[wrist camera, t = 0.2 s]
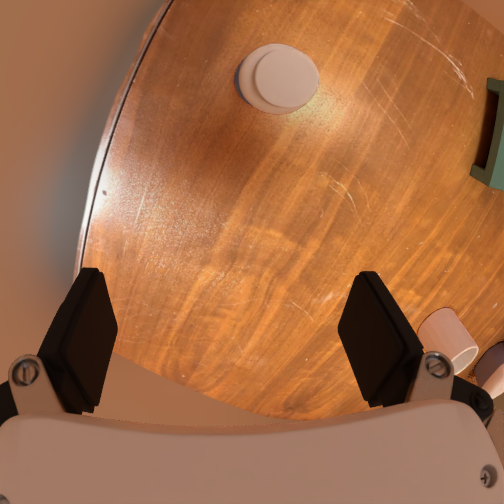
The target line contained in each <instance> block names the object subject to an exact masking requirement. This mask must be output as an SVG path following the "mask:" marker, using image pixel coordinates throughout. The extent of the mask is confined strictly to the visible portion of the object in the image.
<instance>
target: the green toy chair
mask: <svg viewBox="0 0 504 504" xmlns="http://www.w3.org/2000/svg"><path fill="white" fill-rule="evenodd" d="M487 89H488V90H490V91H492V92H493V93H495V94H496V95H498V96H499V102H498V109H497V116H496V122H495V128H494V133H493V138H492V143H491V147H490V152H489V156H488V160H487V164H486V168H483V167H480V166H477V165H474V164H473V165H472V169H471V173H470V176H472V177H474V178H475V179H477V180H479V181H481V182H482V183H484V184H485V185H487V186H489V187H492V188H495V189H499V190H502V191H504V81H501V80H496V79H491V78H488V80H487Z"/></svg>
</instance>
